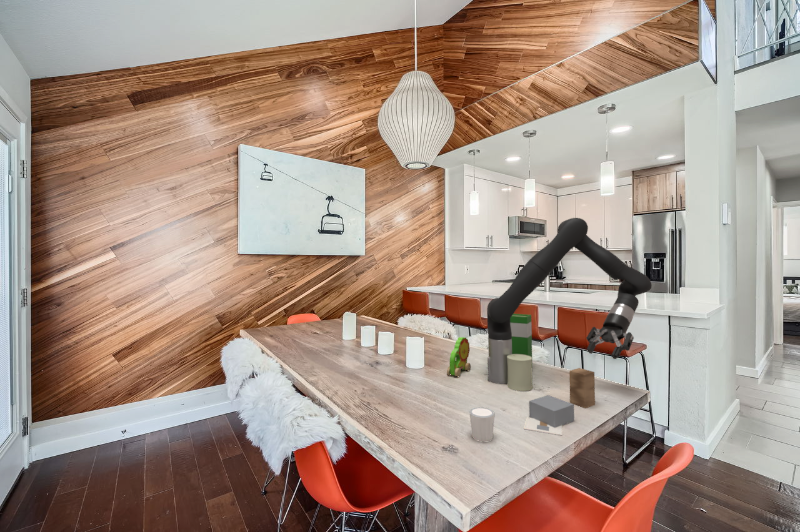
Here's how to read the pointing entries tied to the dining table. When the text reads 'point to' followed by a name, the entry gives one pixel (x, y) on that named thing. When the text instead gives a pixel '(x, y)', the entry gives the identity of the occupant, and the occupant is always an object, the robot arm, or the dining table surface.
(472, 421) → the shot glass
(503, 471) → the dining table surface
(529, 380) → the can
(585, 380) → the walnut brick
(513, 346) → the green banded block
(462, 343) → the toy lion
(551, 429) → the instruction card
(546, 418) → the base block
